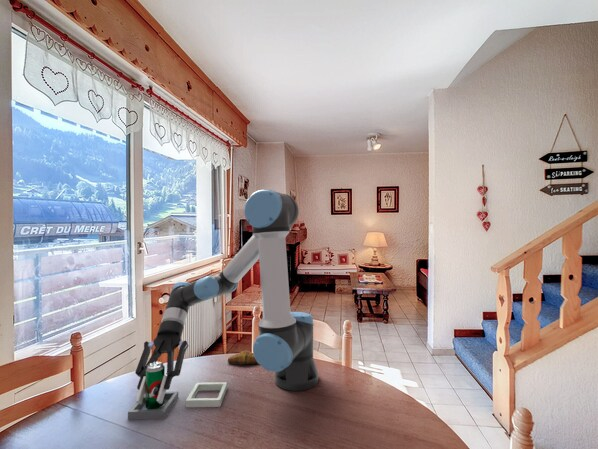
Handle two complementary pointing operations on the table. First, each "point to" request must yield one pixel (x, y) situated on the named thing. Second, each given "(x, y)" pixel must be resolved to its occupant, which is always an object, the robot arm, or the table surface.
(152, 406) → the soda can
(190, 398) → the socket lower
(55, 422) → the table surface
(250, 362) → the croissant
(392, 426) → the table surface
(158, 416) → the socket upper
